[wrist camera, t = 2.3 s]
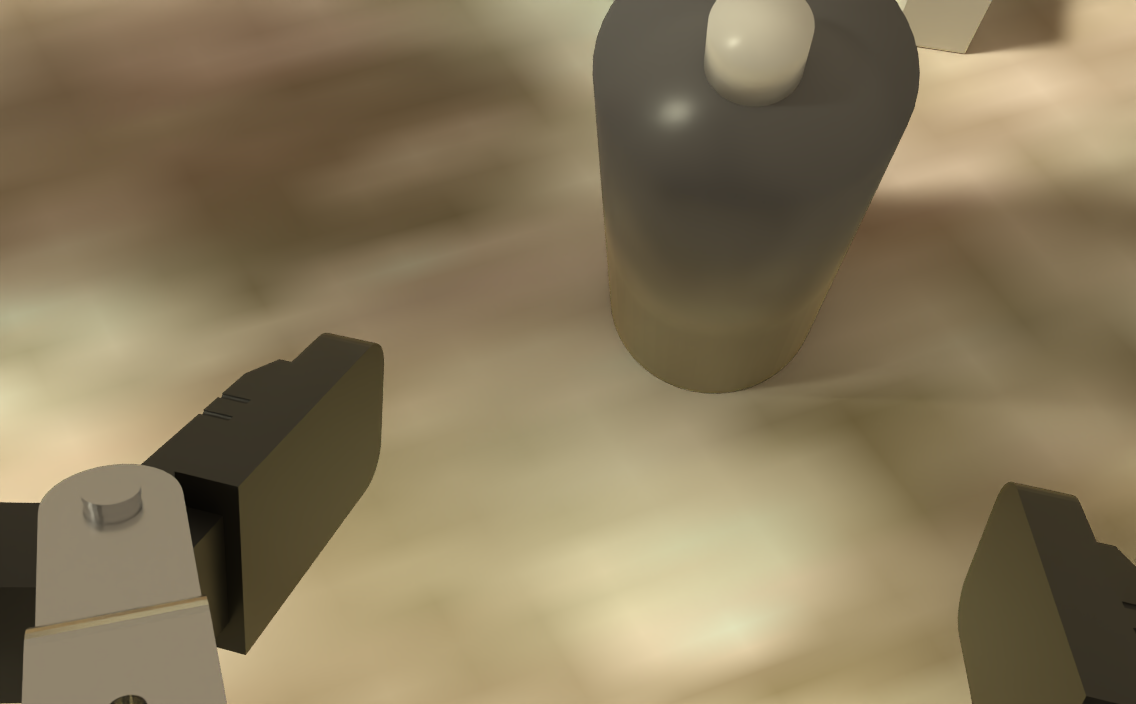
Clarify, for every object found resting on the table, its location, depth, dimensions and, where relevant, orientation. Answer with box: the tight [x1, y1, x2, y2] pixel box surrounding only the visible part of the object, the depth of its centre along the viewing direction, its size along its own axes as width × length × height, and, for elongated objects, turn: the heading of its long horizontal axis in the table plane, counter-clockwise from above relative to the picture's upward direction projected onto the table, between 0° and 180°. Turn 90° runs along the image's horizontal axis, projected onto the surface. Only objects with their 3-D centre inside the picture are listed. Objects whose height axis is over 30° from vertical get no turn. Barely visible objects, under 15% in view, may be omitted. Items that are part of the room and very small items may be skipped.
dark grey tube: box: [593, 0, 920, 393], centre depth 20 cm, size 5×5×11 cm
